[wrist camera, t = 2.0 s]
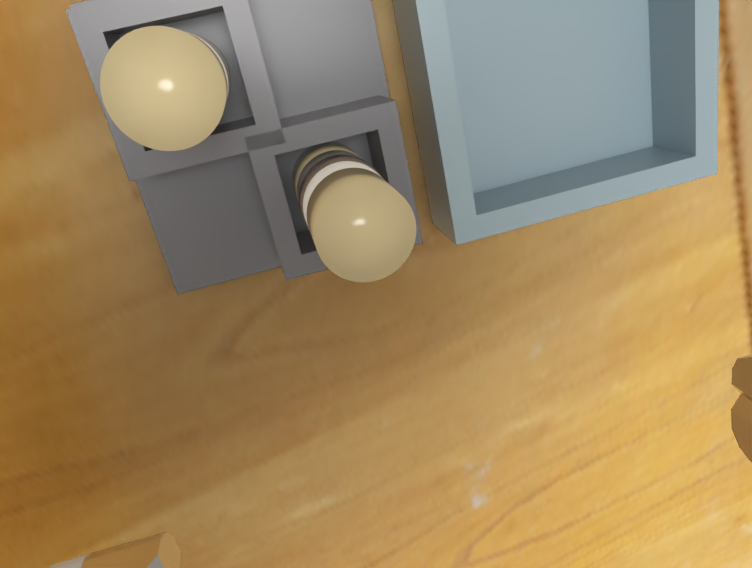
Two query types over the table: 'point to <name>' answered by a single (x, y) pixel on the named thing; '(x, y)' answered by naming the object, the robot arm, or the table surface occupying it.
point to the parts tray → (556, 104)
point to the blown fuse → (352, 213)
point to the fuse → (165, 87)
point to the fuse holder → (255, 127)
